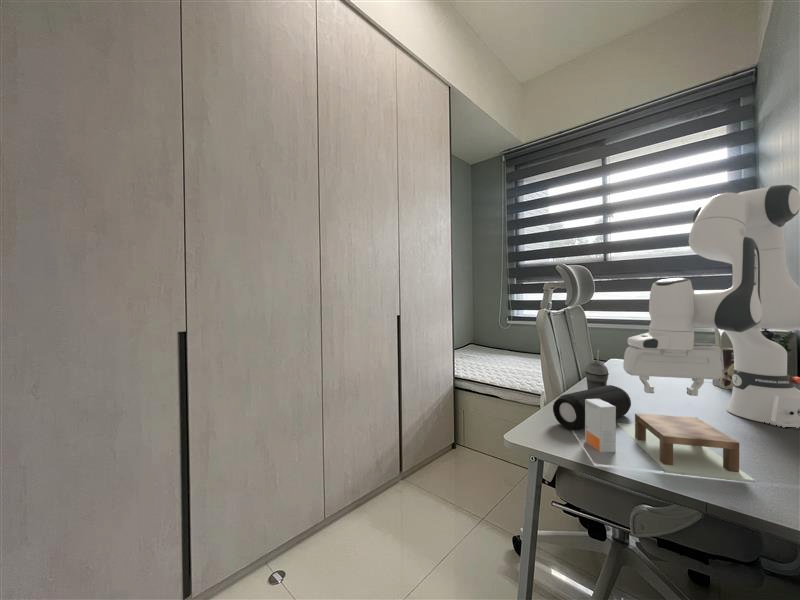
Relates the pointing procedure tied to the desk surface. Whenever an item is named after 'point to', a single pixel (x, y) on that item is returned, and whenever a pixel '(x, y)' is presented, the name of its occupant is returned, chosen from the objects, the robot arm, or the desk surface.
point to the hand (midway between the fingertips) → (670, 393)
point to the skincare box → (600, 425)
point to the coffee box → (725, 369)
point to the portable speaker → (573, 405)
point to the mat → (687, 458)
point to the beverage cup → (596, 374)
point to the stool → (686, 436)
